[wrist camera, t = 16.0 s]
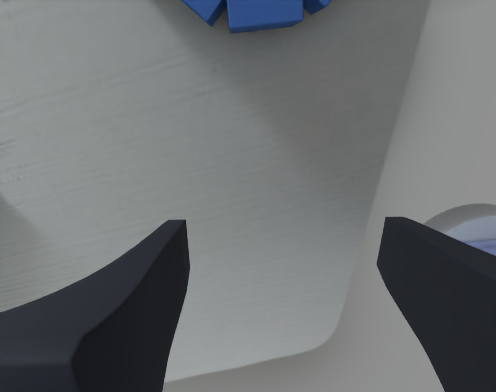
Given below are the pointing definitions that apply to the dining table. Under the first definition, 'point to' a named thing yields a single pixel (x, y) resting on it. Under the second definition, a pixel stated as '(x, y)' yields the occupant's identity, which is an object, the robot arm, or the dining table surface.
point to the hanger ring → (255, 12)
